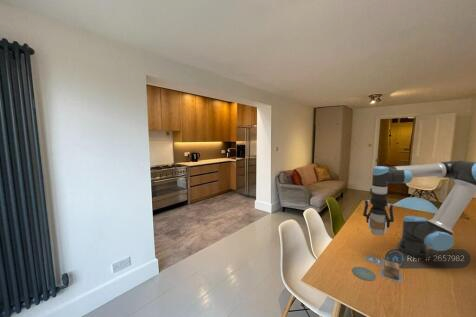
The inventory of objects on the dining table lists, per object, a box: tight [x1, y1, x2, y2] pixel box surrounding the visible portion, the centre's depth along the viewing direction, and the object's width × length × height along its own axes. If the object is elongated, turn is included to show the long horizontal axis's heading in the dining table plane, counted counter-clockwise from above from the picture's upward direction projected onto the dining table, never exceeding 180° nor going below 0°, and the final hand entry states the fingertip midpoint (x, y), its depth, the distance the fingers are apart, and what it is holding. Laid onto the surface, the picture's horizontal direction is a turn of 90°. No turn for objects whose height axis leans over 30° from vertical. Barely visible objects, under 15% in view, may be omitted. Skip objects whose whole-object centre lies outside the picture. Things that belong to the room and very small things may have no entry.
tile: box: [364, 253, 386, 268], centre depth 123 cm, size 9×9×1 cm
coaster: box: [351, 266, 377, 282], centre depth 110 cm, size 11×11×1 cm
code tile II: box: [379, 267, 403, 284], centre depth 109 cm, size 9×9×1 cm
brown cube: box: [383, 259, 400, 280], centre depth 109 cm, size 6×6×6 cm
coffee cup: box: [369, 207, 388, 237], centre depth 120 cm, size 8×8×15 cm
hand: (377, 230), depth 121 cm, fingers closed on coffee cup, 7 cm apart
